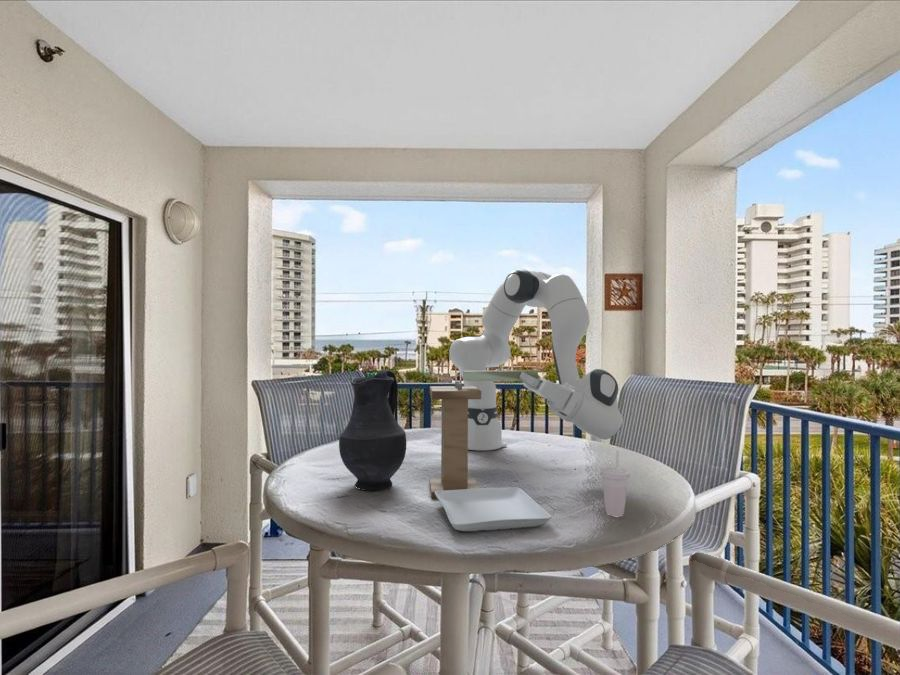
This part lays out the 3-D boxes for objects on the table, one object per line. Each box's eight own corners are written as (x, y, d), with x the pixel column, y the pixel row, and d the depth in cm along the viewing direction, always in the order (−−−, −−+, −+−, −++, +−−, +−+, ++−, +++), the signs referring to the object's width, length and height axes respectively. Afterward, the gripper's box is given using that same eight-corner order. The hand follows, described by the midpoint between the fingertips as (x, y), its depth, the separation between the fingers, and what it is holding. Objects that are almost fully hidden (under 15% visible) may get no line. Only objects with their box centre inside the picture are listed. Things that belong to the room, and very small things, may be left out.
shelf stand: (429, 483, 137) (429, 380, 136) (474, 483, 138) (474, 380, 137) (431, 498, 125) (432, 385, 124) (480, 497, 126) (481, 384, 125)
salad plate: (554, 532, 105) (554, 515, 105) (452, 540, 100) (452, 522, 100) (518, 499, 125) (518, 485, 125) (433, 505, 121) (433, 490, 121)
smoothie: (631, 520, 110) (632, 455, 110) (601, 518, 112) (601, 453, 112) (627, 510, 117) (628, 448, 116) (598, 508, 118) (598, 447, 118)
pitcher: (326, 491, 130) (326, 372, 129) (367, 471, 149) (367, 367, 149) (387, 499, 124) (388, 374, 123) (422, 477, 143) (422, 369, 143)
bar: (463, 380, 132) (463, 370, 132) (535, 379, 134) (535, 370, 134) (464, 380, 130) (464, 371, 130) (537, 380, 132) (537, 371, 132)
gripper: (558, 385, 144) (516, 361, 143) (583, 394, 123) (534, 365, 122) (547, 405, 144) (504, 380, 143) (570, 417, 123) (521, 388, 122)
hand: (518, 373), depth 132 cm, fingers closed on bar, 2 cm apart
